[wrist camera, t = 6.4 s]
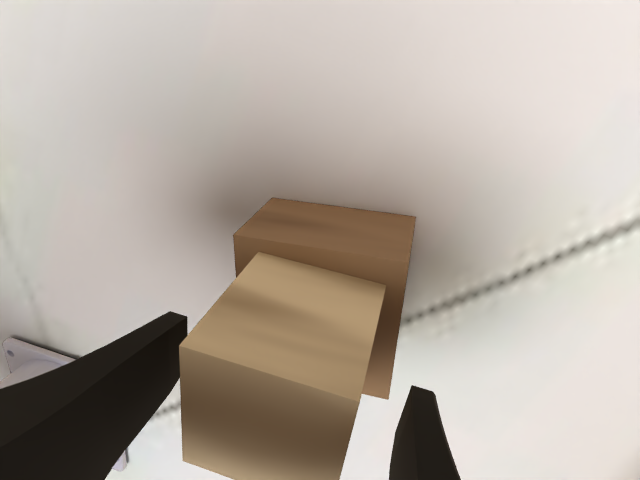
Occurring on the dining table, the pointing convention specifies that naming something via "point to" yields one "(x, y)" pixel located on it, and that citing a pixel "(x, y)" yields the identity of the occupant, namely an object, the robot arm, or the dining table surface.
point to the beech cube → (278, 372)
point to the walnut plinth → (340, 260)
